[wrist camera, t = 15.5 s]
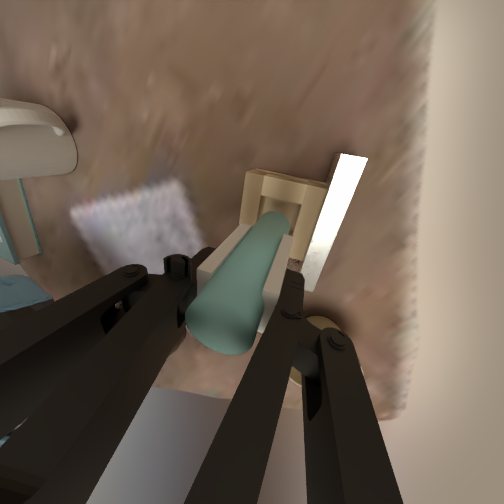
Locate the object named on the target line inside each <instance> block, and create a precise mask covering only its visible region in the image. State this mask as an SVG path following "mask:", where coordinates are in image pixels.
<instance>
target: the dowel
mask: <svg viewBox="0 0 504 504" xmlns="http://www.w3.org/2000/svg"><path fill="white" fill-rule="evenodd" d="M289 231H290V223H289V220H288V219H287V217H286V216H285V215H284V214H282V213H281V212H278V211H268V212H266V213H264V214H263V215H262V216H261V217H260V218H259V219H258V221H257V222H256V223H255V224H254V226H253V227H252V228H251V230H250V231H249V232H248V234H247V235H246V236H245V237H244V239H243V240H242V241H241V242H240V244H239V245H238V246H237V247H236V249H235V250H234V251H233V252H232V254H231V255H230V256H229V257H228V259H227V260H226V261H225V262H224V264H223V265H222V266H221V267H220V269H219V270H218V271H217V272H216V274H215V275H214V276H213V277H212V279H211V280H210V281H209V282H208V283H207V284H206V285H205V287H204V288H203V289H202V290H201V292H200V293H199V294H198V295H197V297H196V298H195V299H194V300H193V302H192V303H191V304H190V305H189V307H188V308H187V310H186V313H185V321H186V324H187V327H188V329H189V330H190V332H191V333H192V335H193V336H194V337H195V338H196V339H197V340H198V341H199V342H200V343H202V344H203V345H205V346H206V347H208V348H210V349H212V350H214V351H216V352H219V353H223V354H228V355H238V354H242V353H245V352H247V351H248V350H249V349H250V348H251V347H252V345H253V343H254V340H255V337H256V334H257V331H258V327H259V324H260V321H261V318H262V315H263V312H264V300H263V297H262V291H263V288H264V285H265V282H266V280H267V277H268V274H269V272H270V269H271V266H272V264H273V261H274V259H275V256H276V253H277V251H278V248H279V245H280V243H281V240H282V237H283V235H284V234H286V235H288V234H289Z"/></svg>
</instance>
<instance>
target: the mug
mask: <svg viewBox="0 0 504 504" xmlns="http://www.w3.org/2000/svg"><path fill="white" fill-rule="evenodd" d="M76 164H77V150H76V145H75V142H74V140H73V137H72V135H71V133H70V131H69V129H68V128H67V126H66V125H65V123H64V122H63V121H62V119H61V118H60V117H59V116H58V115H57V114H56V113H55V112H53V111H52V110H51V109H49V108H47V107H45V106H43V105H40V104H35V103H28V102H22V101H16V100H10V99H4V98H0V180H10V179H20V178H29V177H39V176H49V175H59V174H68V173H70V172H72V171H73V170H74V169H75V167H76Z"/></svg>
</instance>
